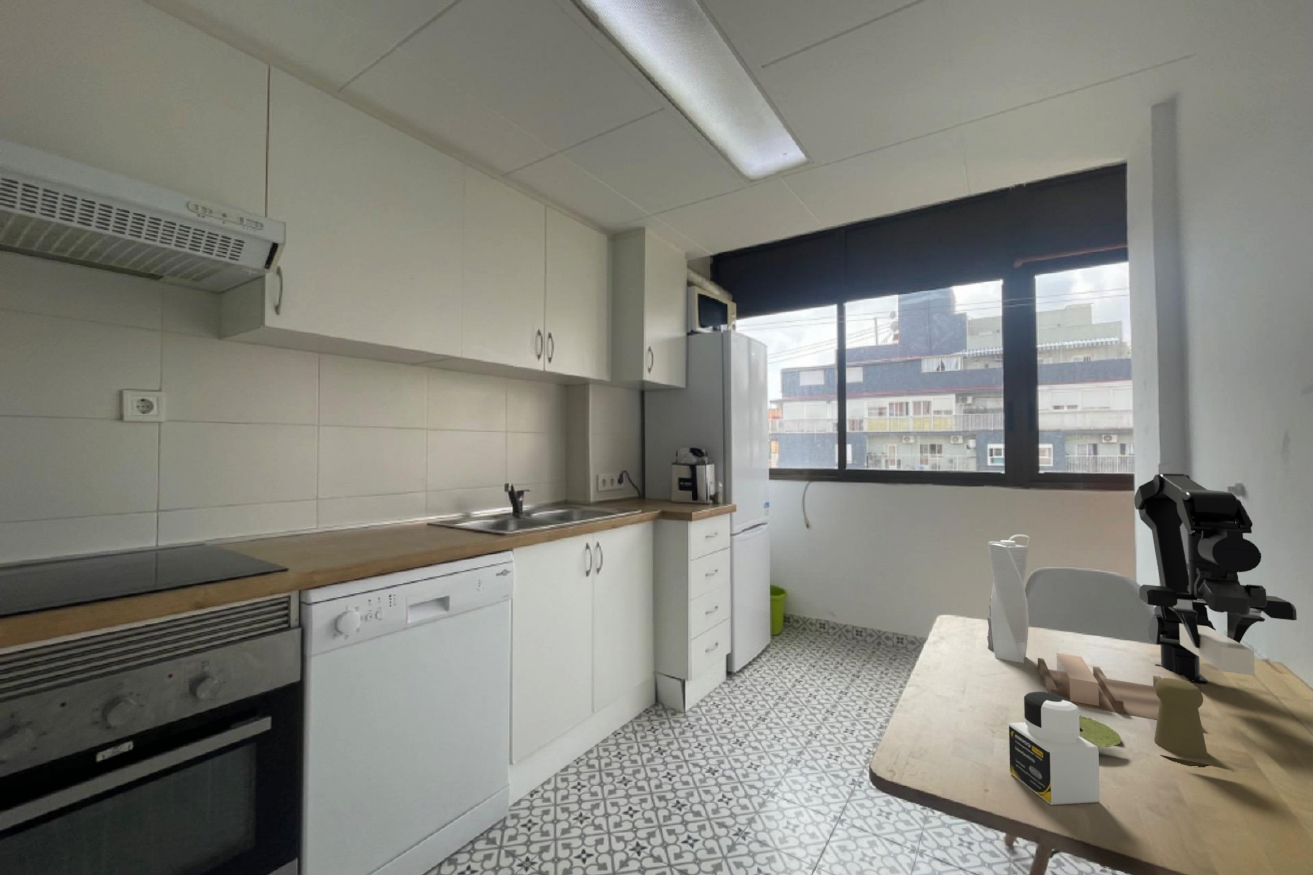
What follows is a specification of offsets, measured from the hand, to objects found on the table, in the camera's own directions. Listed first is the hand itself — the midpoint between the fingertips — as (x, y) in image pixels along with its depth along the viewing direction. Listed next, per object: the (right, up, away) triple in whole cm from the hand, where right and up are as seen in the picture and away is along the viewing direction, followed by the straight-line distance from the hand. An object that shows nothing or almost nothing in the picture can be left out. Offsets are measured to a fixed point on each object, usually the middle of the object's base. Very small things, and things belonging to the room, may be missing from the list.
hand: (1214, 649), depth 94 cm
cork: (-21, -10, -15) cm, 28 cm away
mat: (-33, -10, -10) cm, 36 cm away
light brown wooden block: (-20, -10, +5) cm, 23 cm away
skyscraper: (-22, -12, +21) cm, 33 cm away
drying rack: (-16, -11, +3) cm, 20 cm away
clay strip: (0, -2, 0) cm, 2 cm away
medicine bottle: (-46, -10, -23) cm, 52 cm away
